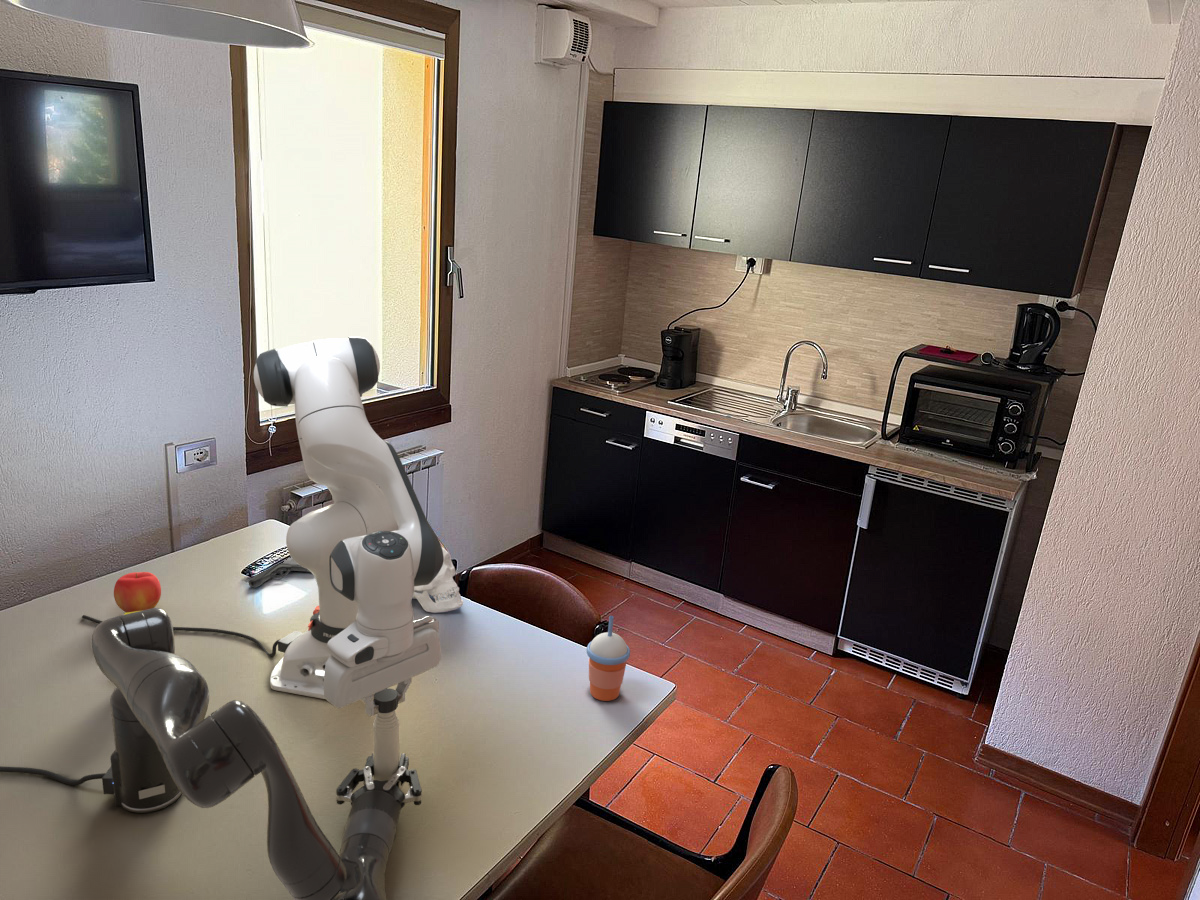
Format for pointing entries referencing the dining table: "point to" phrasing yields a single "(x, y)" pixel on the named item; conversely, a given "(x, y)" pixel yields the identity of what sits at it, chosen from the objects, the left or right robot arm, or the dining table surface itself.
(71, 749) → the dining table surface
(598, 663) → the cup with straw
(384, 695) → the cap
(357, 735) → the dining table surface
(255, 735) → the left robot arm
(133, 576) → the apple
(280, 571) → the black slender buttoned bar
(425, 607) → the skull
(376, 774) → the bottle
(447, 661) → the dining table surface
